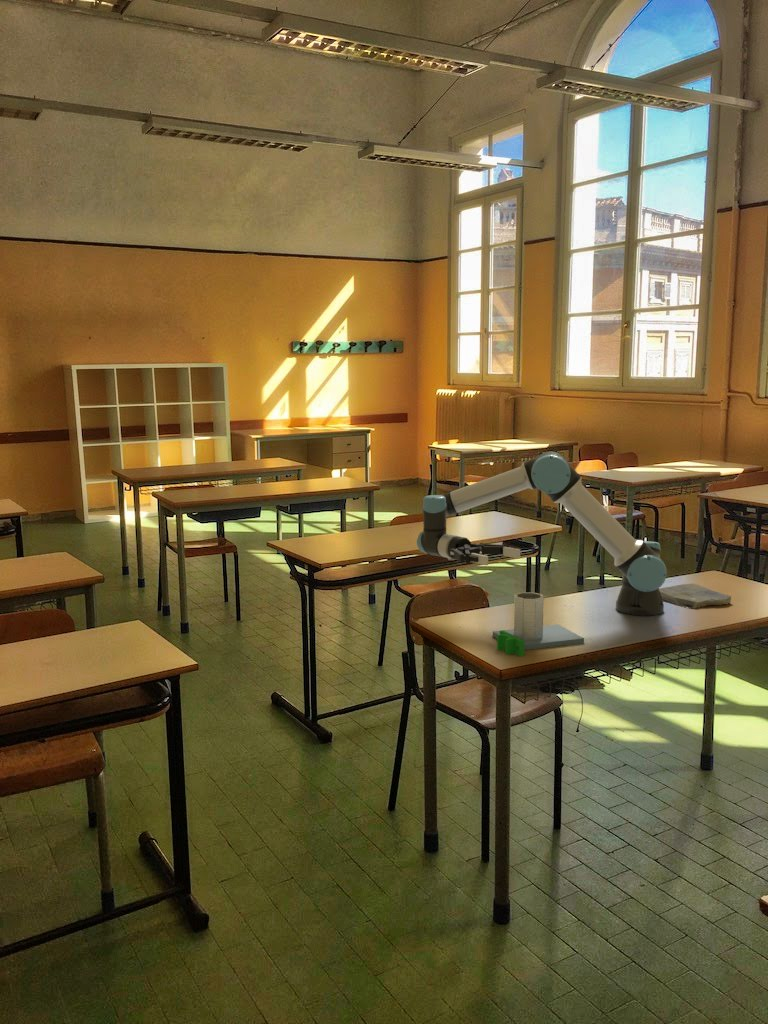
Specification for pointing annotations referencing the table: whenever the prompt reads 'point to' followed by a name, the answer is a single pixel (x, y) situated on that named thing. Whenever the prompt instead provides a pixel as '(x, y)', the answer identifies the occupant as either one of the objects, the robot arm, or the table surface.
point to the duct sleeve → (528, 616)
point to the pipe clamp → (510, 644)
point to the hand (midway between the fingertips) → (503, 557)
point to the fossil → (693, 596)
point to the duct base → (549, 637)
